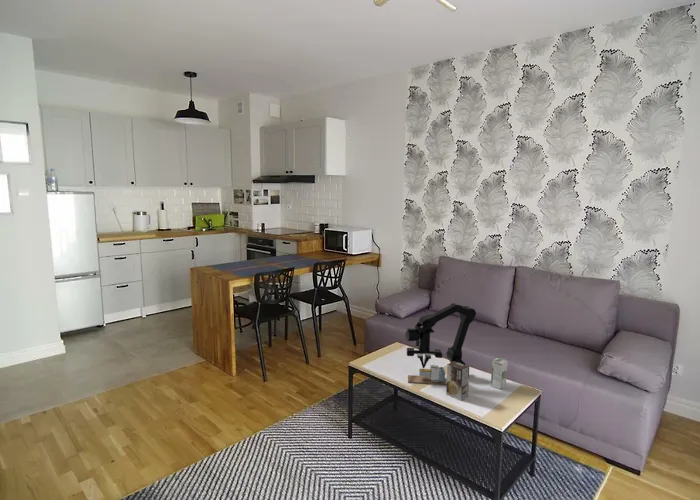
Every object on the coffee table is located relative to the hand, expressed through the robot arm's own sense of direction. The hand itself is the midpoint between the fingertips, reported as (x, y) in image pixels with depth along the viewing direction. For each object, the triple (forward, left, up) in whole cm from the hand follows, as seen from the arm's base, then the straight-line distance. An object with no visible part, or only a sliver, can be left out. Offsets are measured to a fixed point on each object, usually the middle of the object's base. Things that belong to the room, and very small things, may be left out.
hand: (423, 367), depth 228 cm
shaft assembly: (-4, +3, -5) cm, 7 cm away
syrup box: (-39, +5, -6) cm, 40 cm away
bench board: (-2, +3, -6) cm, 7 cm away
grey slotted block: (-6, +3, -6) cm, 9 cm away
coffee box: (-16, +18, -6) cm, 24 cm away
